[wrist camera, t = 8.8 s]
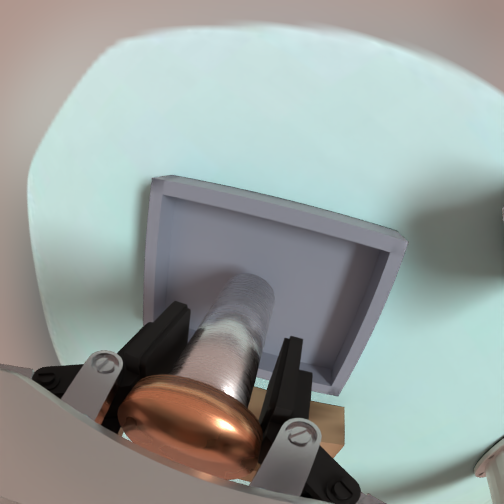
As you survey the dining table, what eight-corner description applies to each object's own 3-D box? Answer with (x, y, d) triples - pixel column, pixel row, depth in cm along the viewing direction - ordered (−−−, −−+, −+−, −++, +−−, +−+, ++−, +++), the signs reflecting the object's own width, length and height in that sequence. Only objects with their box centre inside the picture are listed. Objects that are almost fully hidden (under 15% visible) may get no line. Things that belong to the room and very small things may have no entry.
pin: (296, 272, 15) (274, 432, 6) (276, 338, 17) (242, 489, 7) (217, 252, 15) (108, 374, 6) (206, 318, 17) (126, 449, 8)
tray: (396, 230, 15) (408, 242, 13) (337, 373, 19) (338, 396, 17) (172, 174, 17) (152, 178, 15) (159, 320, 21) (143, 336, 19)
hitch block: (344, 407, 20) (344, 445, 16) (305, 461, 23) (300, 491, 20) (225, 378, 21) (209, 413, 17) (212, 438, 25) (200, 466, 21)
